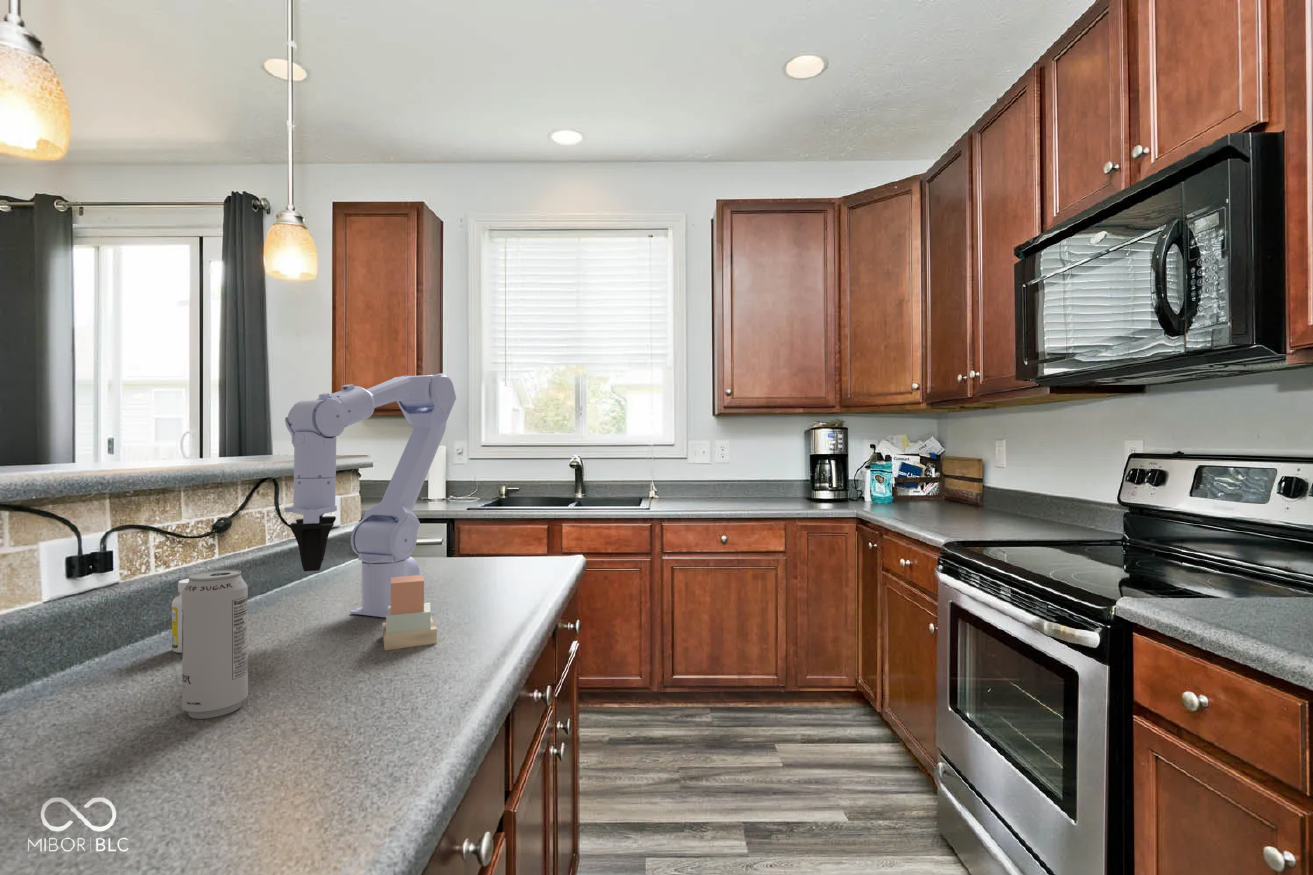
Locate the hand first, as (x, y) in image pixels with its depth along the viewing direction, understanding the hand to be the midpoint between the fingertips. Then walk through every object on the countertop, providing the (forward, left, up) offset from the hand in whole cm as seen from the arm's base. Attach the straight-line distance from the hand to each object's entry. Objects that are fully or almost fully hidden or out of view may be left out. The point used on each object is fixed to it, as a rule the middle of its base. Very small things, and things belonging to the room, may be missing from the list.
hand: (313, 566), depth 99 cm
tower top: (-3, +16, -8) cm, 18 cm away
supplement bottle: (+10, -11, -11) cm, 18 cm away
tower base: (-3, +16, -11) cm, 19 cm away
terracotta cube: (-3, +16, -6) cm, 17 cm away
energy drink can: (+24, +13, -11) cm, 30 cm away
